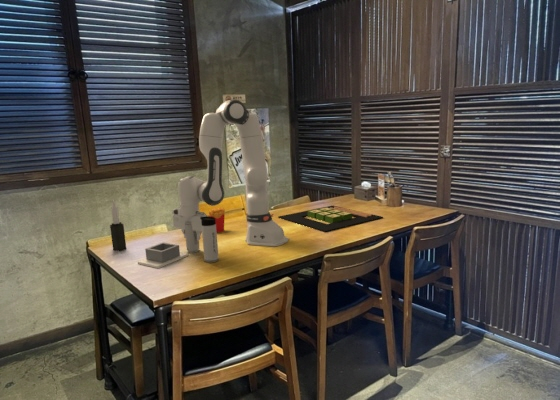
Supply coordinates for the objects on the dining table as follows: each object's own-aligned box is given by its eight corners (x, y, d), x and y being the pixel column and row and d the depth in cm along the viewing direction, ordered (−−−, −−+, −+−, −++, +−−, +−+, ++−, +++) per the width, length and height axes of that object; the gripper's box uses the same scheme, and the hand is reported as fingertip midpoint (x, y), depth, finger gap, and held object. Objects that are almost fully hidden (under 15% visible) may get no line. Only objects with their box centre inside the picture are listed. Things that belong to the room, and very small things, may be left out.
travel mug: (204, 258, 181) (200, 215, 178) (219, 257, 182) (215, 214, 178) (203, 263, 175) (199, 219, 171) (218, 262, 176) (214, 218, 172)
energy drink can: (190, 248, 197) (188, 219, 194) (201, 249, 195) (199, 219, 192) (184, 252, 191) (181, 222, 188) (195, 253, 189) (193, 222, 186)
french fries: (211, 233, 222) (209, 210, 220) (209, 231, 226) (207, 209, 223) (227, 230, 226) (225, 208, 224) (224, 229, 230) (223, 207, 228)
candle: (118, 251, 198) (112, 201, 193) (112, 250, 200) (105, 200, 195) (127, 248, 202) (121, 199, 197) (120, 247, 204) (114, 198, 200)
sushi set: (383, 219, 239) (383, 212, 238) (325, 234, 215) (325, 226, 214) (332, 207, 276) (332, 201, 275) (278, 219, 251) (278, 212, 250)
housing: (188, 255, 187) (187, 243, 185) (158, 268, 172) (156, 255, 170) (168, 251, 193) (167, 239, 192) (137, 263, 178) (136, 250, 177)
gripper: (211, 211, 186) (213, 239, 189) (179, 207, 197) (181, 234, 200) (201, 213, 181) (204, 243, 184) (169, 210, 192) (172, 238, 194)
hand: (192, 238), depth 192 cm, fingers closed on energy drink can, 6 cm apart
